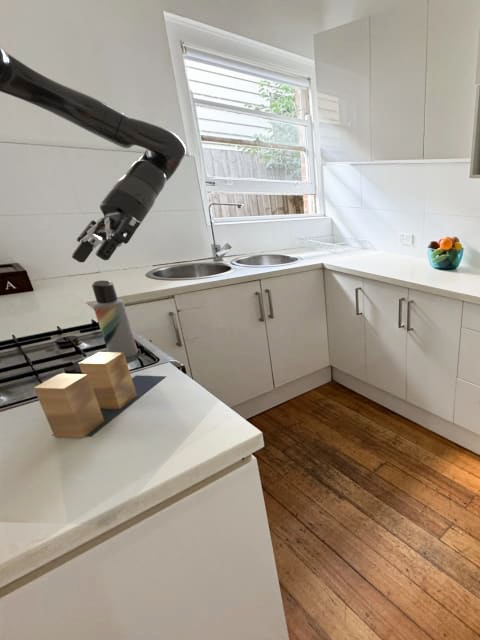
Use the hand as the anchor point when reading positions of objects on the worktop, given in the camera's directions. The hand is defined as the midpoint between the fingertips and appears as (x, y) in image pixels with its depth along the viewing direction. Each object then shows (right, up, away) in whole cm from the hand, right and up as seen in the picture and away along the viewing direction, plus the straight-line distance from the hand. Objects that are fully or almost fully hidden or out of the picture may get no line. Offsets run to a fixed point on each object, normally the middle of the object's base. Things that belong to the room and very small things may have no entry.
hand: (88, 258), depth 78 cm
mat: (+6, -30, -1) cm, 30 cm away
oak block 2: (+6, -29, -1) cm, 30 cm away
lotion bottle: (-5, -22, +17) cm, 28 cm away
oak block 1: (+6, -33, -9) cm, 35 cm away
